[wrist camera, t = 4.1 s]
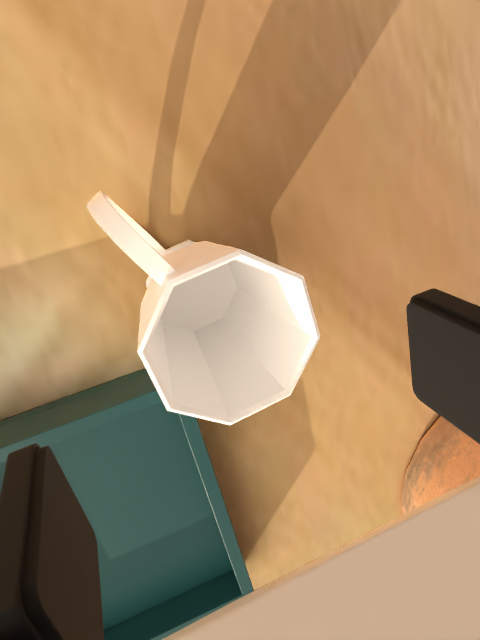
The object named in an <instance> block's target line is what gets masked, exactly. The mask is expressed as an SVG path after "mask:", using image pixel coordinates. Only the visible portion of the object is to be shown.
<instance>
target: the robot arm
mask: <svg viewBox="0 0 480 640" xmlns="http://www.w3.org/2000/svg"><path fill="white" fill-rule="evenodd" d="M407 322H408V335H409V347H410V360H411V373H412V386H413V391H414V393H415V395H416V396H417V398H418V399H419V400H420V401H422V402H423V403H424V404H426V405H427V406H428V407H430V408H431V409H432V410H434V411H435V412H436V413H438V414H439V415H441V416H442V417H443V418H445V419H446V420H447V421H449V422H450V423H451V424H453V425H454V426H456V427H457V428H458V429H460V430H461V431H462V432H464V433H465V434H466V435H468V436H469V437H470V438H472V439H473V440H475V441H476V442H477V443H479V444H480V307H479V306H477V305H474V304H472V303H469V302H467V301H465V300H462V299H460V298H457V297H455V296H452V295H450V294H447V293H445V292H442V291H440V290H437V289H430V290H427V291H425V292H422V293H419V294H417V295H414V296H413V297H412V298H411V300H410V303H409V304H408V305H407ZM0 640H104V627H103V614H102V601H101V587H100V574H99V560H98V547H97V540H96V536H95V533H94V530H93V528H92V526H91V524H90V522H89V520H88V519H87V517H86V515H85V513H84V511H83V509H82V507H81V505H80V503H79V501H78V500H77V498H76V496H75V494H74V492H73V490H72V488H71V486H70V484H69V482H68V481H67V479H66V477H65V475H64V473H63V471H62V469H61V467H60V465H59V463H58V461H57V460H56V458H55V456H54V454H53V452H52V450H51V449H50V447H49V446H44V447H42V448H40V446H39V445H38V444H37V443H34V444H32V445H29V446H26V447H24V448H21V449H19V450H16V451H14V452H11V453H9V454H8V457H7V462H6V468H5V473H4V478H3V483H2V489H1V494H0ZM162 640H480V476H479V477H477V478H475V479H473V480H471V481H469V482H467V483H465V484H463V485H461V486H459V487H457V488H455V489H453V490H451V491H449V492H447V493H445V494H443V495H441V496H439V497H437V498H435V499H433V500H431V501H429V502H427V503H425V504H423V505H421V506H419V507H417V508H415V509H413V510H411V511H409V512H407V513H405V514H403V515H401V516H399V517H397V518H395V519H393V520H391V521H389V522H388V523H386V524H384V525H382V526H380V527H378V528H376V529H374V530H372V531H370V532H368V533H366V534H364V535H362V536H360V537H358V538H356V539H354V540H352V541H350V542H348V543H346V544H344V545H342V546H340V547H338V548H336V549H334V550H333V551H331V552H329V553H327V554H325V555H323V556H321V557H319V558H317V559H315V560H313V561H311V562H309V563H307V564H305V565H303V566H301V567H299V568H298V569H296V570H294V571H292V572H290V573H288V574H286V575H284V576H282V577H280V578H278V579H276V580H274V581H272V582H270V583H268V584H266V585H265V586H263V587H261V588H259V589H257V590H255V591H253V592H251V593H249V594H247V595H245V596H243V597H241V598H239V599H237V600H235V601H233V602H232V603H230V604H228V605H226V606H224V607H222V608H220V609H218V610H216V611H214V612H212V613H211V614H209V615H207V616H205V617H203V618H201V619H199V620H198V621H196V622H194V623H192V624H190V625H188V626H186V627H184V628H183V629H181V630H179V631H177V632H175V633H173V634H171V635H169V636H168V637H166V638H164V639H162Z"/></svg>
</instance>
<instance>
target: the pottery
mask: <svg viewBox="0 0 480 640" xmlns="http://www.w3.org/2000/svg"><path fill="white" fill-rule="evenodd" d="M479 476H480V444H479V443H477V442H476V441H475V440H473V439H472V438H470V437H469V436H468V435H466V434H465V433H464V432H462V431H461V430H460V429H458V428H457V427H456V426H454V425H453V424H451V423H450V422H449V421H447V420H446V419H445V418H443V417H442V416H440V417H439V418H438V419H437V420H436V422H435V423H434V424H433V425H432V427H431V428H430V429H429V430H428V431H427V433H426V434H425V435H424V436H423V438H422V439H421V440H420V442H419V444H418V447H417V449H416V451H415V453H414V455H413V457H412V459H411V461H410V464H409V466H408V468H407V470H406V473H405V478H404V486H403V493H402V501H401V506H402V509H403V512H404V514H405V513H407V512H409V511H411V510H413V509H415V508H417V507H419V506H421V505H423V504H425V503H427V502H429V501H431V500H433V499H435V498H437V497H439V496H441V495H443V494H445V493H447V492H449V491H451V490H453V489H455V488H457V487H459V486H461V485H463V484H465V483H467V482H469V481H471V480H473V479H475V478H477V477H479Z"/></svg>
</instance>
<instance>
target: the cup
mask: <svg viewBox="0 0 480 640" xmlns="http://www.w3.org/2000/svg"><path fill="white" fill-rule="evenodd" d="M86 206H87V209H88V211H89V212H90V214H91V215H92V217H93V218H94V219H95V221H96V222H97V223H98V225H99V226H100V227H101V228H102V229H103V230H104V231H105V232H106V233H107V235H108V236H109V237H110V238H111V239H112V240H113V241H114V242H115V243H116V244H117V245H118V246H119V247H120V248H121V249H122V250H123V251H124V252H125V253H126V254H127V255H128V256H129V257H130V258H131V259H132V260H133V261H134V262H135V263H136V264H137V265H138V266H139V267H140V268H142V269H143V270H144V271H145V272H146V273H147V274H148V277H147V280H146V282H145V284H146V287H147V290H146V293H145V295H144V298H143V300H142V303H141V306H140V326H139V335H138V349H137V352H138V354H139V356H140V358H141V360H142V362H143V364H144V366H145V368H146V370H147V372H148V374H149V376H150V378H151V380H152V382H153V384H154V386H155V388H156V390H157V392H158V394H159V396H160V397H161V399H162V401H163V403H164V405H165V407H166V409H167V411H171V412H175V413H179V414H184V415H188V416H192V417H196V418H201V419H205V420H209V421H213V422H218V423H222V424H226V425H232V424H234V423H236V422H238V421H240V420H242V419H244V418H246V417H248V416H250V415H252V414H254V413H256V412H258V411H260V410H262V409H264V408H266V407H268V406H270V405H272V404H274V403H276V402H278V401H280V400H282V399H284V398H286V397H288V396H290V395H291V393H292V391H293V389H294V387H295V385H296V384H297V382H298V380H299V378H300V376H301V374H302V372H303V370H304V368H305V366H306V364H307V362H308V360H309V358H310V356H311V354H312V353H313V351H314V349H315V347H316V345H317V343H318V341H319V339H320V337H321V336H320V333H319V329H318V326H317V322H316V319H315V315H314V311H313V308H312V304H311V301H310V297H309V294H308V290H307V287H306V283H305V279H304V276H302V275H300V274H298V273H295V272H293V271H291V270H288V269H286V268H284V267H281V266H279V265H277V264H274V263H272V262H270V261H267V260H265V259H263V258H260V257H258V256H256V255H253V254H251V253H249V252H246V251H244V250H242V249H238V248H234V247H230V246H225V245H220V244H216V243H212V242H208V241H201V242H193V241H191V240H187V241H184V242H182V243H180V244H177V245H175V246H173V247H170V248H168V249H164V248H163V247H162V246H161V245H160V244H159V243H158V242H157V241H156V240H155V239H154V238H153V237H152V236H151V235H150V234H149V233H147V232H146V231H145V230H144V229H143V228H142V227H141V226H140V225H139V224H138V223H137V222H136V221H135V220H133V219H132V218H131V217H130V216H129V215H128V214H127V213H126V212H125V211H124V210H122V209H121V208H120V207H119V206H118V205H117V204H116V203H115V202H114V201H112V200H111V199H110V198H109V197H108V196H107V195H105V194H104V193H103V192H101V191H99V192H98V193H97V194H96V195H95V196H94V197H93V198H92V199H91V200H90V201H89V202H88V203H87V204H86Z"/></svg>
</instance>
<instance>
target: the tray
mask: <svg viewBox="0 0 480 640" xmlns="http://www.w3.org/2000/svg"><path fill="white" fill-rule="evenodd" d="M34 443H37V444H38V445H39V446H40V448H42V447H44V446H49V447H50V449H51V450H52V452H53V454H54V456H55V458H56V460H57V461H58V463H59V465H60V467H61V469H62V471H63V473H64V475H65V477H66V479H67V481H68V482H69V484H70V486H71V488H72V490H73V492H74V494H75V496H76V498H77V500H78V501H79V503H80V505H81V507H82V509H83V511H84V513H85V515H86V517H87V519H88V520H89V522H90V524H91V526H92V528H93V530H94V533H95V536H96V540H97V547H98V560H99V574H100V587H101V601H102V614H103V627H104V640H162V639H164V638H166V637H168V636H169V635H171V634H173V633H175V632H177V631H179V630H181V629H183V628H184V627H186V626H188V625H190V624H192V623H194V622H196V621H198V620H199V619H201V618H203V617H205V616H207V615H209V614H211V613H212V612H214V611H216V610H218V609H220V608H222V607H224V606H226V605H228V604H230V603H232V602H233V601H235V600H237V599H239V598H241V597H243V596H245V595H247V594H249V593H251V592H253V591H254V589H253V586H252V583H251V580H250V577H249V574H248V571H247V568H246V565H245V562H244V559H243V556H242V553H241V550H240V547H239V544H238V541H237V538H236V535H235V532H234V529H233V526H232V523H231V520H230V517H229V514H228V511H227V508H226V505H225V502H224V499H223V496H222V493H221V490H220V487H219V484H218V481H217V478H216V475H215V472H214V469H213V466H212V463H211V460H210V457H209V454H208V451H207V448H206V445H205V442H204V439H203V436H202V433H201V430H200V427H199V424H198V421H197V418H196V417H192V416H188V415H184V414H179V413H175V412H171V411H167V409H166V407H165V405H164V403H163V401H162V399H161V397H160V396H159V394H158V392H157V390H156V388H155V386H154V384H153V382H152V380H151V378H150V376H149V374H148V372H147V370H146V368H145V369H142V370H139V371H137V372H134V373H131V374H128V375H126V376H123V377H120V378H117V379H115V380H112V381H109V382H106V383H104V384H101V385H98V386H95V387H93V388H90V389H87V390H84V391H81V392H79V393H76V394H73V395H70V396H68V397H65V398H62V399H59V400H57V401H54V402H51V403H48V404H46V405H43V406H40V407H37V408H35V409H32V410H29V411H26V412H23V413H21V414H18V415H15V416H12V417H10V418H7V419H4V420H1V421H0V494H1V489H2V483H3V478H4V473H5V468H6V462H7V457H8V454H9V453H11V452H14V451H16V450H19V449H21V448H24V447H26V446H29V445H32V444H34Z"/></svg>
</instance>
